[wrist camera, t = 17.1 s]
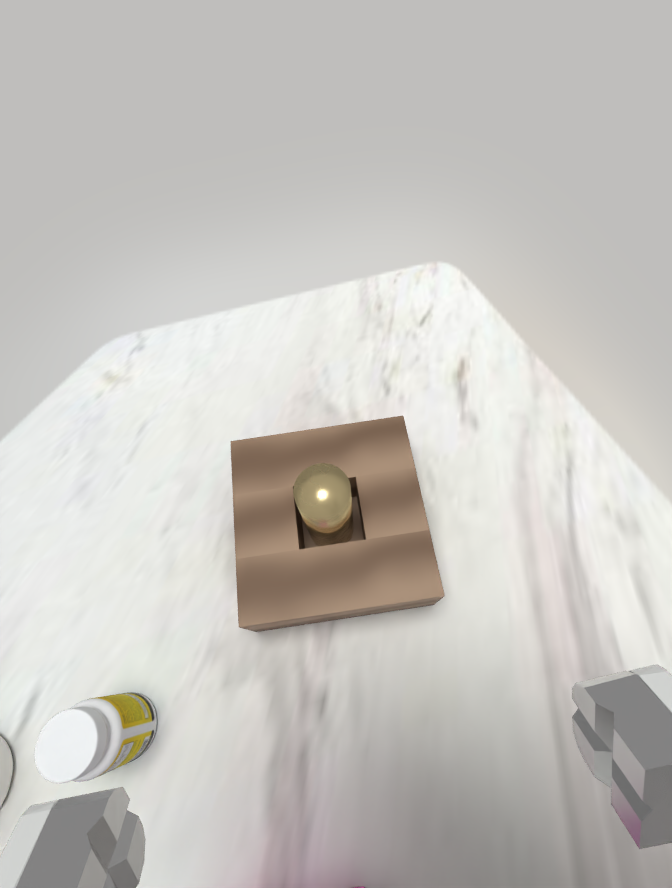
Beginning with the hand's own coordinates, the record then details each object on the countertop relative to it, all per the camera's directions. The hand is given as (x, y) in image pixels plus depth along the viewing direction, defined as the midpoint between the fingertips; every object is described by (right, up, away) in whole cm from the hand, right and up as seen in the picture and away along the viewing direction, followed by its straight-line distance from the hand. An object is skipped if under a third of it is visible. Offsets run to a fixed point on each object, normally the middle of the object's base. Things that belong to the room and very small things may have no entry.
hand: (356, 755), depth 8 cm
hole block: (-1, -2, +34) cm, 34 cm away
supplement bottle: (-17, -17, +28) cm, 37 cm away
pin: (-1, -2, +33) cm, 33 cm away
